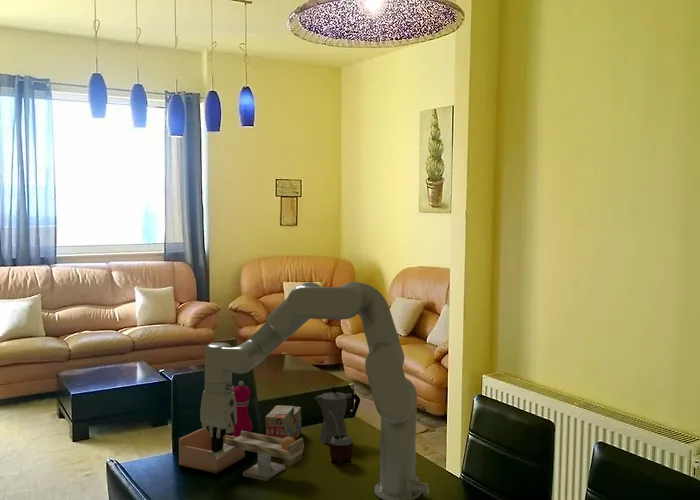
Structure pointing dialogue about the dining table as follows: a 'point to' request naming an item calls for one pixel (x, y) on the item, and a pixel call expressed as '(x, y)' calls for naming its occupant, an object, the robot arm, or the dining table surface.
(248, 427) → the pepper mill
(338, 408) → the coffeepot
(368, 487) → the dining table surface
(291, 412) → the stack of blocks
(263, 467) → the pivot stand
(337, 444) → the mate gourd
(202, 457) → the pink open box
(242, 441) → the tray
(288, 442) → the ball
